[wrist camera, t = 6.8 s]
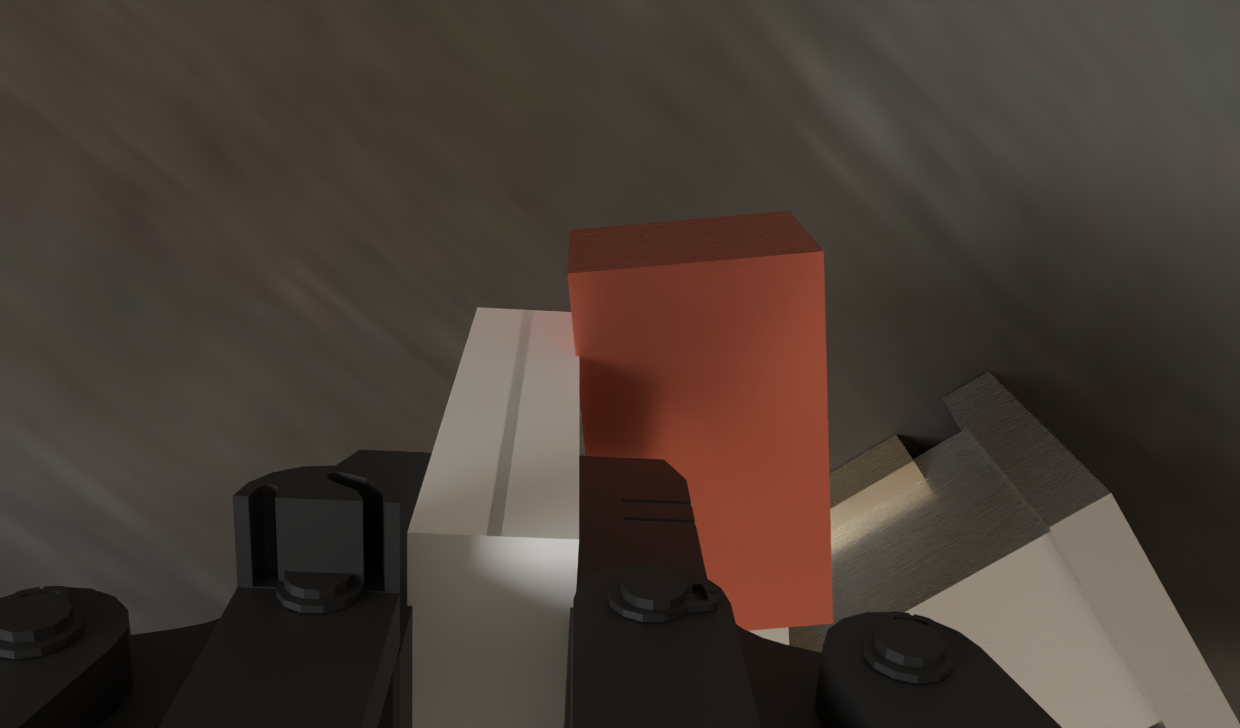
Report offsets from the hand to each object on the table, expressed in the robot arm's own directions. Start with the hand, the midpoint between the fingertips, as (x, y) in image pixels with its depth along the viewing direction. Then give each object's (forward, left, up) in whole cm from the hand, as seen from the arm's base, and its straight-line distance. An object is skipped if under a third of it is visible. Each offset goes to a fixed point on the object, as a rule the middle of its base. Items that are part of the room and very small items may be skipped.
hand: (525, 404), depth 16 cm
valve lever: (0, -6, -1) cm, 6 cm away
